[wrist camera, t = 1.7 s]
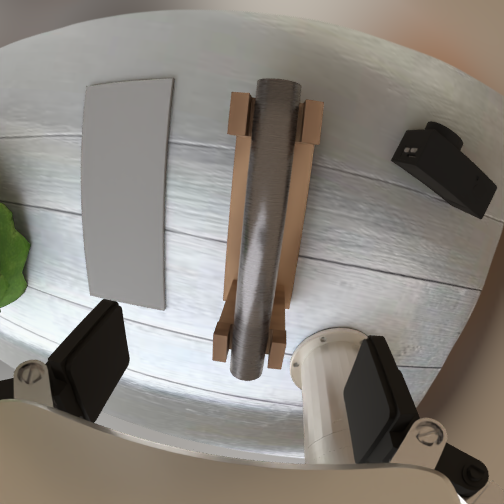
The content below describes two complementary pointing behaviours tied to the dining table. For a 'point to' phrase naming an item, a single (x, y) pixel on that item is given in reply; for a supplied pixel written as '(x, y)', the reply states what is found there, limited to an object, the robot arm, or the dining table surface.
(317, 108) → the rack
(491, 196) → the digital camera
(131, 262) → the mat
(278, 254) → the rod
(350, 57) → the dining table surface
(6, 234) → the decorative tree
